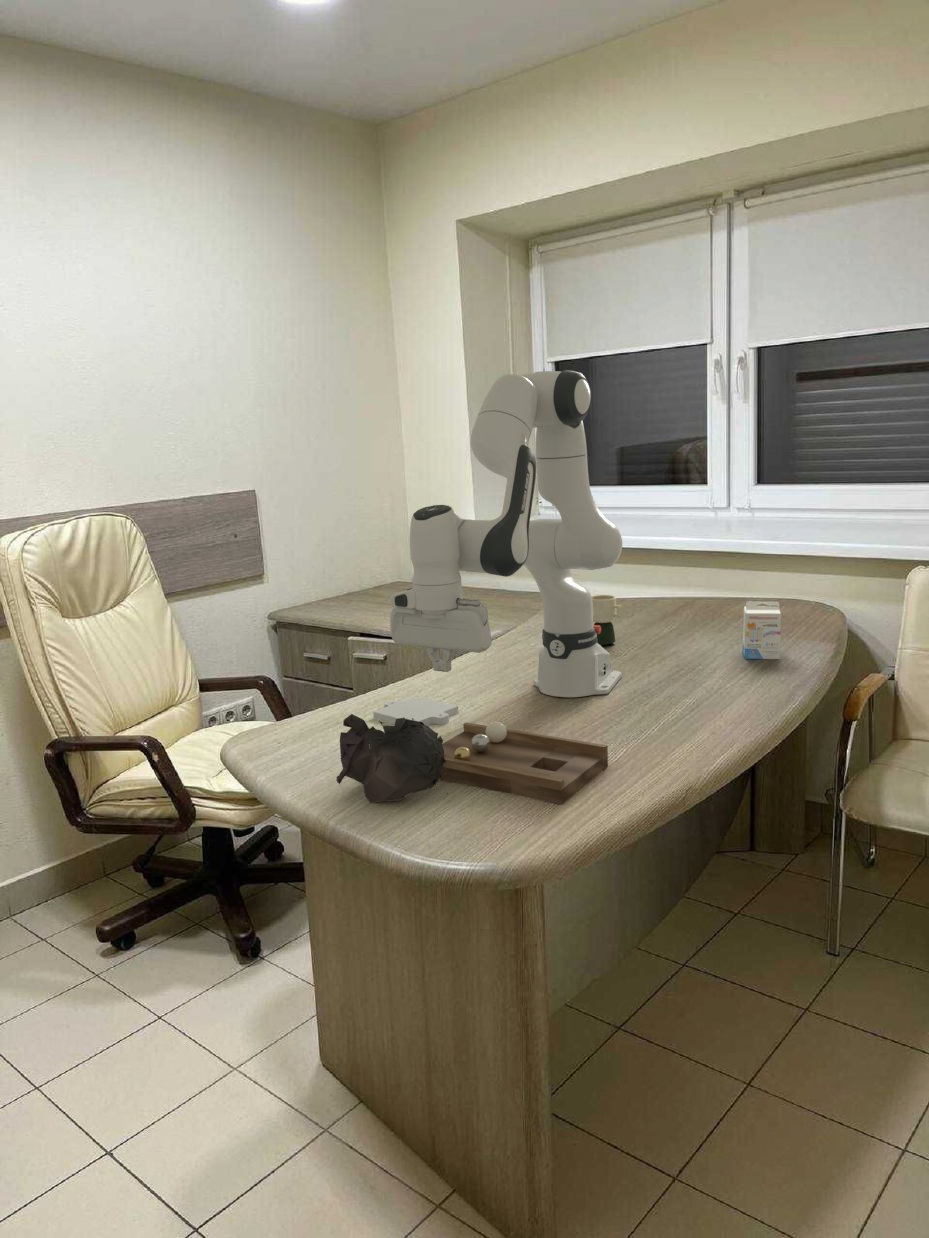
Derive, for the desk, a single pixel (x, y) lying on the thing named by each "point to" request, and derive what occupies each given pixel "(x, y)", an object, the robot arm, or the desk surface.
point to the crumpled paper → (391, 758)
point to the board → (525, 764)
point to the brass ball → (462, 754)
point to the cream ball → (496, 732)
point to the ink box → (761, 630)
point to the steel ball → (480, 743)
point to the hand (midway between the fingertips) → (442, 670)
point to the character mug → (605, 617)
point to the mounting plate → (417, 711)
